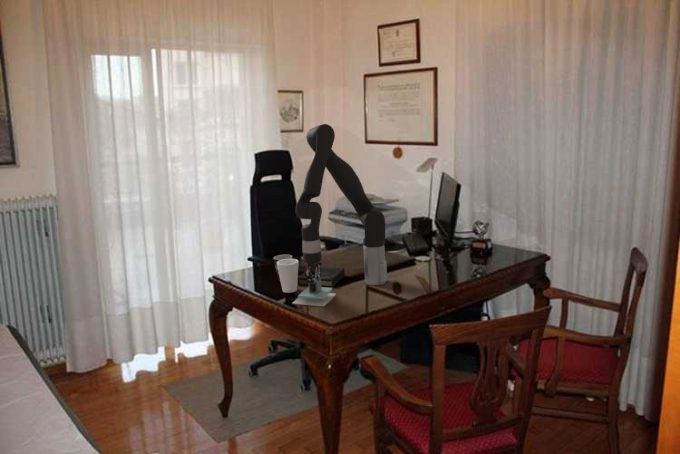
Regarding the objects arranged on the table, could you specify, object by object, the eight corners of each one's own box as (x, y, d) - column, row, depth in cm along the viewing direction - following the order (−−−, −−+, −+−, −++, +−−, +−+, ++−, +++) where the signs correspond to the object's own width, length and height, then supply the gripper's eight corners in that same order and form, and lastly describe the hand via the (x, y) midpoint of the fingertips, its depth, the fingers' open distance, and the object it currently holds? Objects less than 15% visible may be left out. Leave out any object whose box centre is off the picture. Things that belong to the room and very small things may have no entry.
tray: (336, 294, 240) (336, 293, 240) (324, 306, 227) (324, 305, 227) (305, 292, 245) (305, 291, 245) (292, 303, 232) (292, 303, 232)
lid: (332, 289, 238) (331, 276, 237) (323, 299, 228) (322, 285, 227) (308, 288, 242) (307, 275, 241) (298, 297, 232) (296, 284, 230)
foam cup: (279, 287, 253) (277, 259, 250) (300, 285, 253) (298, 257, 250) (279, 294, 244) (276, 265, 240) (300, 293, 244) (298, 264, 241)
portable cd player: (297, 286, 254) (296, 278, 253) (312, 274, 270) (311, 266, 269) (331, 288, 249) (331, 280, 248) (344, 276, 264) (344, 268, 263)
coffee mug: (290, 280, 261) (289, 259, 259) (273, 280, 263) (271, 259, 260) (297, 272, 272) (296, 252, 270) (280, 272, 274) (278, 252, 271)
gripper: (314, 255, 223) (317, 296, 227) (326, 245, 236) (329, 284, 240) (296, 254, 225) (300, 295, 229) (309, 245, 238) (313, 283, 242)
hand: (315, 289), depth 235 cm, fingers closed on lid, 4 cm apart
